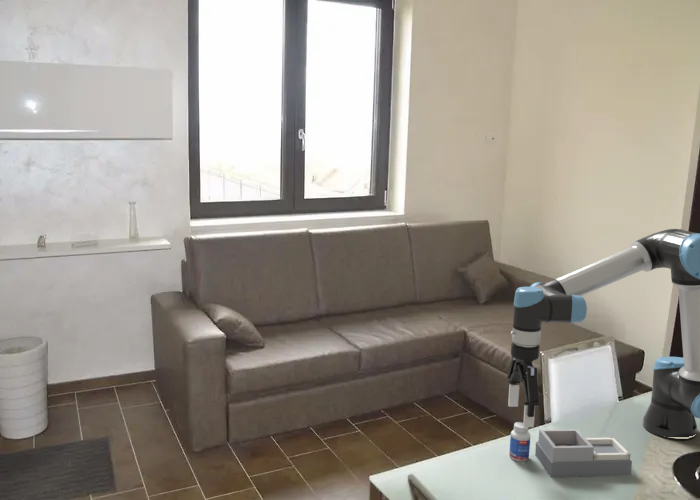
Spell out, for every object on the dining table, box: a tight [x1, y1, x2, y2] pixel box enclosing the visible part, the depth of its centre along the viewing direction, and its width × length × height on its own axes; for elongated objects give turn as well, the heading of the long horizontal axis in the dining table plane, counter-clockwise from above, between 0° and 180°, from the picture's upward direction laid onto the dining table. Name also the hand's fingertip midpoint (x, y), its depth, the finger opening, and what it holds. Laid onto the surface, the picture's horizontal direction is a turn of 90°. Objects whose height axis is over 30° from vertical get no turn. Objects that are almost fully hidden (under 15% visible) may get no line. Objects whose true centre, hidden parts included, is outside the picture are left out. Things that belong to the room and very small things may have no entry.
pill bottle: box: [508, 421, 531, 462], centre depth 179 cm, size 6×5×10 cm
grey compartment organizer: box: [534, 428, 633, 478], centre depth 175 cm, size 22×12×8 cm, turn 93°
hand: (520, 416), depth 178 cm, fingers open, 13 cm apart
